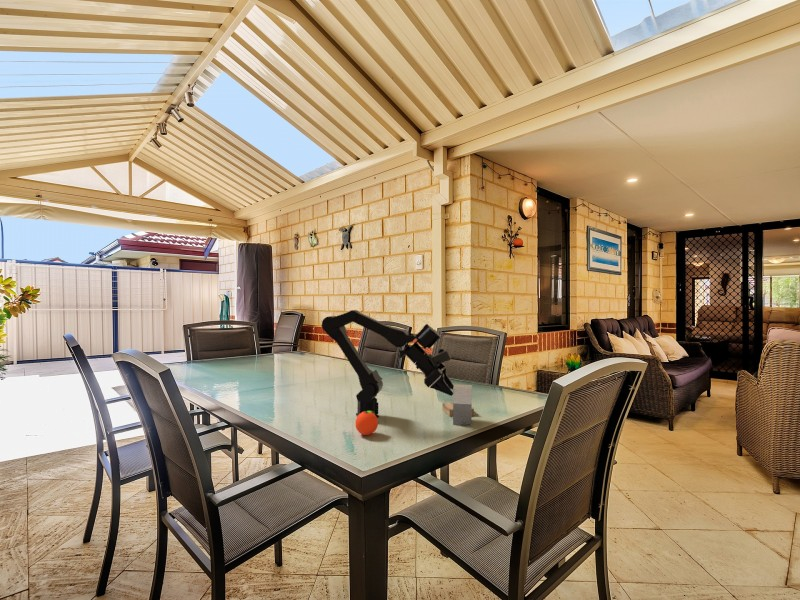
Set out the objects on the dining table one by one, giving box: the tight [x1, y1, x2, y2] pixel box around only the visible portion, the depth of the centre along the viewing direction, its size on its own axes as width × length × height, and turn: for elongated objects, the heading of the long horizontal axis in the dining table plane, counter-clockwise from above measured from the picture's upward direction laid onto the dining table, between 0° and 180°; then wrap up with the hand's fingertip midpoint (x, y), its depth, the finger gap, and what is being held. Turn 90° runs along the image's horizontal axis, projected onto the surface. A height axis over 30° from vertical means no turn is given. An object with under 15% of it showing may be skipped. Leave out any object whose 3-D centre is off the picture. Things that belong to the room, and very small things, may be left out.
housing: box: [452, 384, 473, 427], centre depth 131 cm, size 6×6×12 cm
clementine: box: [354, 411, 379, 436], centre depth 120 cm, size 8×7×7 cm
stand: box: [442, 402, 475, 418], centre depth 143 cm, size 9×9×2 cm
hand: (453, 391), depth 132 cm, fingers open, 9 cm apart
